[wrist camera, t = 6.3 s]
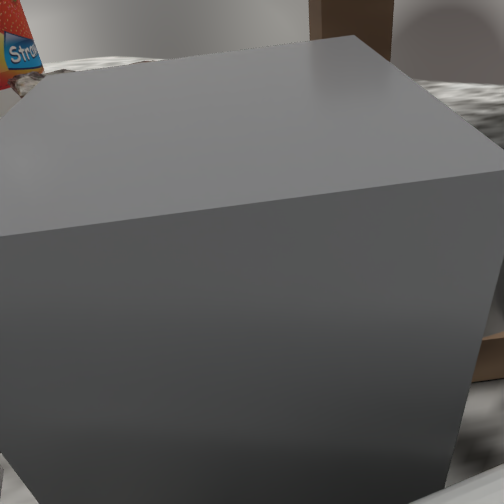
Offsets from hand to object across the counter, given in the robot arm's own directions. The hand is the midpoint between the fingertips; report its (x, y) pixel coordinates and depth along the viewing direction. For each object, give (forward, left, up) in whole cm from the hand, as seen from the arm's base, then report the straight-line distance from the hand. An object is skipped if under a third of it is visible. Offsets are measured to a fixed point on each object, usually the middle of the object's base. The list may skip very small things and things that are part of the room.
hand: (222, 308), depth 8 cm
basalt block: (0, -1, -5) cm, 5 cm away
